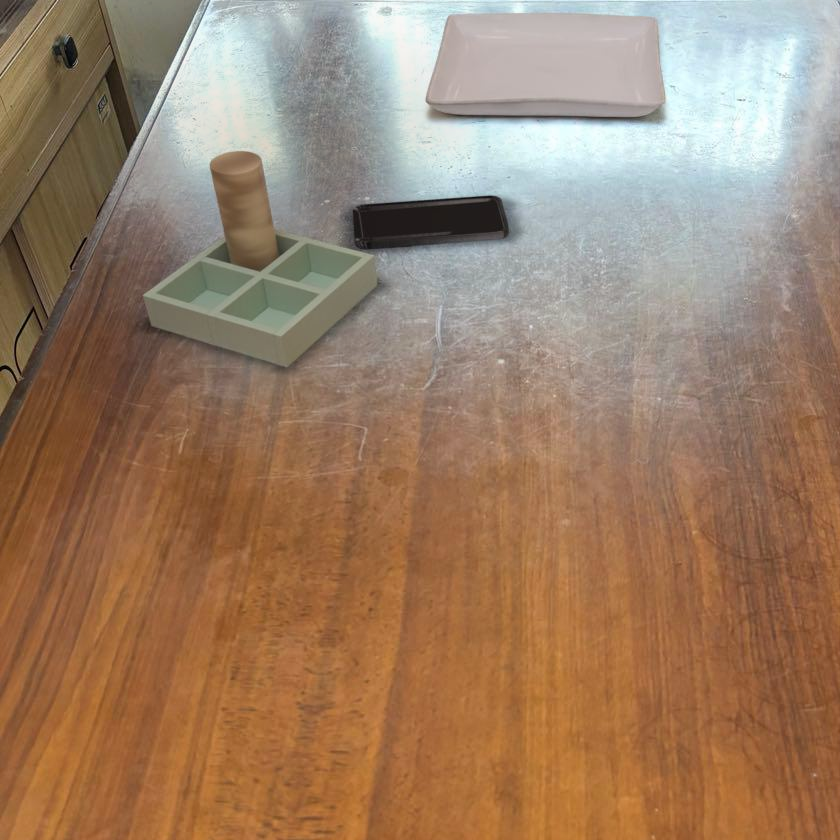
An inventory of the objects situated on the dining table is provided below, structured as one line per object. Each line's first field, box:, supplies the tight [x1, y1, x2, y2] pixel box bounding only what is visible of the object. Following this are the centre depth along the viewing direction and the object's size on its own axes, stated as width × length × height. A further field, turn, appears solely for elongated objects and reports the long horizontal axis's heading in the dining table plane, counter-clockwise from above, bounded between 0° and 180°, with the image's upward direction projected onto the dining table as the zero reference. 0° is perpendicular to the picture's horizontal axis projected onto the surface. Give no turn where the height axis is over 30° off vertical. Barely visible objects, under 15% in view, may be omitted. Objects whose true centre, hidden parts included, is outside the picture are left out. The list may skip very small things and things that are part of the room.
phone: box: [352, 194, 510, 250], centre depth 109 cm, size 8×1×15 cm
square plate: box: [425, 12, 667, 118], centre depth 135 cm, size 27×27×4 cm
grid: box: [142, 228, 379, 368], centre depth 98 cm, size 14×14×4 cm
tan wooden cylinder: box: [209, 150, 279, 272], centre depth 98 cm, size 4×4×11 cm
